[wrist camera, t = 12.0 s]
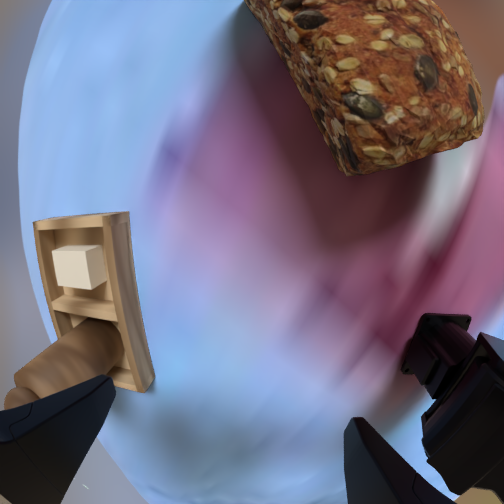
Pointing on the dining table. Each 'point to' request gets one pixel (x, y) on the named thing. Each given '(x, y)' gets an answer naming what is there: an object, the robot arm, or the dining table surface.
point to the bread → (377, 77)
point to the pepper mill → (68, 362)
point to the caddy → (98, 288)
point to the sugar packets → (79, 266)
